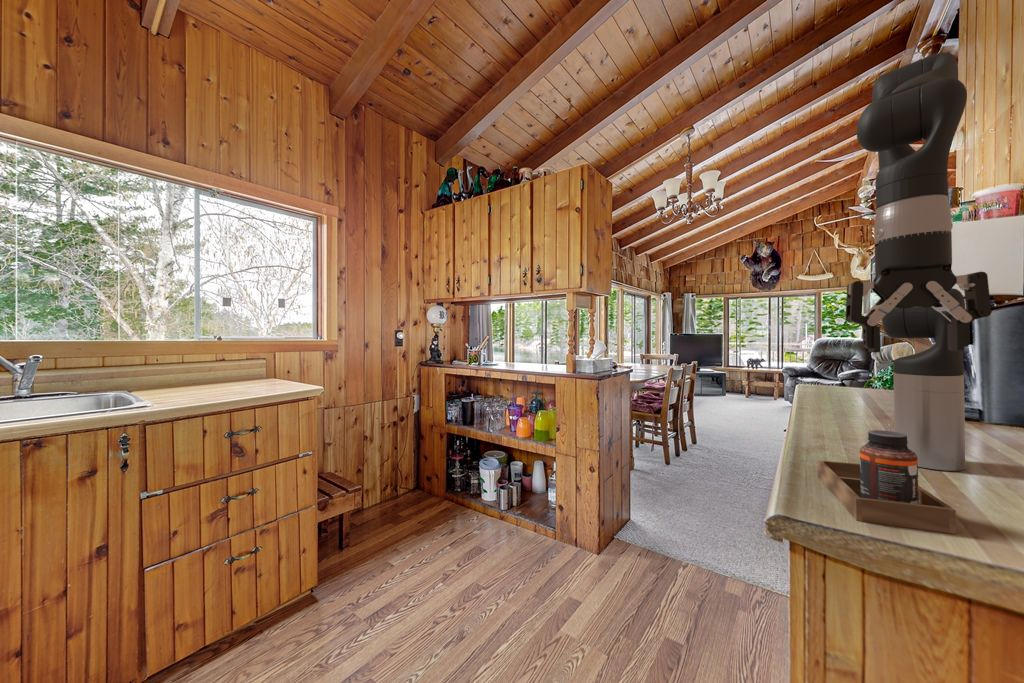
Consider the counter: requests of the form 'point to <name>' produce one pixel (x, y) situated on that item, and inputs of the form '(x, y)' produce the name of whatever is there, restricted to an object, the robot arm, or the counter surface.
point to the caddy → (885, 502)
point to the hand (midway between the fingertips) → (913, 351)
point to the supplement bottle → (888, 468)
